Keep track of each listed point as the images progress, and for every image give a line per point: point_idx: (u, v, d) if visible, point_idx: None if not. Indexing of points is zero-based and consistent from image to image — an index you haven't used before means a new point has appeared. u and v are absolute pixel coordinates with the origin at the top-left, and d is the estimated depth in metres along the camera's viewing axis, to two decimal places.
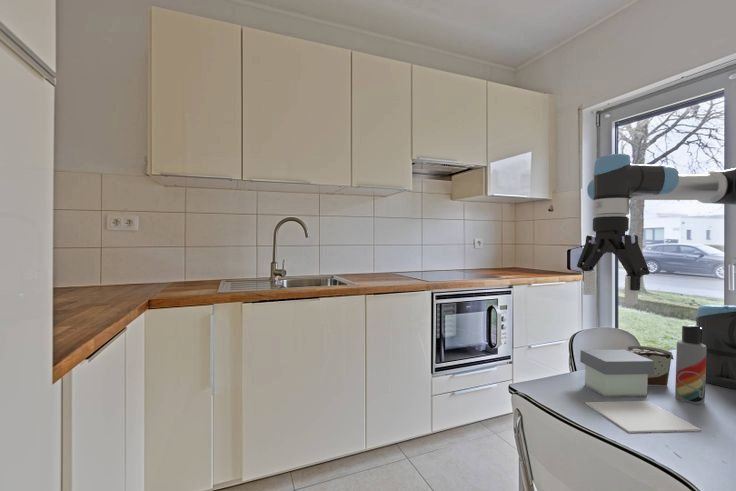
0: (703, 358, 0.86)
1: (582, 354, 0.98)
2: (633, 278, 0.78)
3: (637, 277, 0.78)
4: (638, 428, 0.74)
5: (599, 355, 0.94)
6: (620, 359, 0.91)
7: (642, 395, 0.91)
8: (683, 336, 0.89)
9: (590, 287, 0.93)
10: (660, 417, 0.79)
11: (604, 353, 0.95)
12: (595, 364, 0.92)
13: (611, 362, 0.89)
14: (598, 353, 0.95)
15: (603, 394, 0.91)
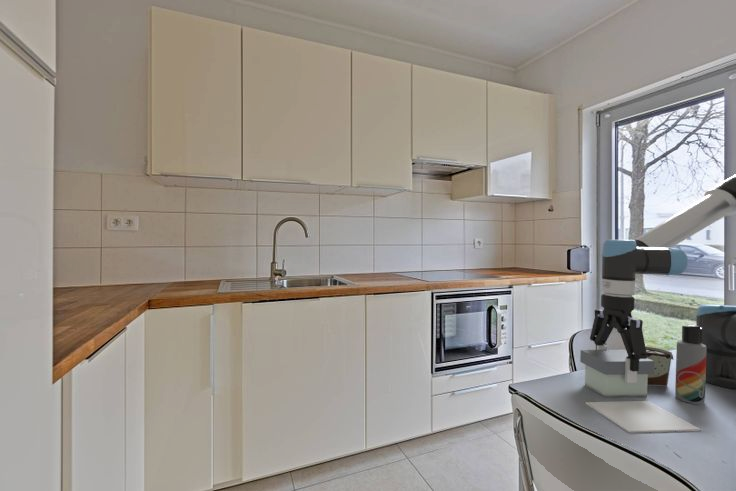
0: (703, 358, 0.86)
1: (582, 354, 0.98)
2: (632, 360, 0.88)
3: (636, 360, 0.87)
4: (638, 428, 0.74)
5: (599, 355, 0.94)
6: (620, 359, 0.91)
7: (642, 395, 0.91)
8: (683, 336, 0.89)
9: None
10: (660, 417, 0.79)
11: (604, 353, 0.95)
12: (595, 364, 0.92)
13: (611, 362, 0.89)
14: (598, 353, 0.95)
15: (603, 394, 0.91)
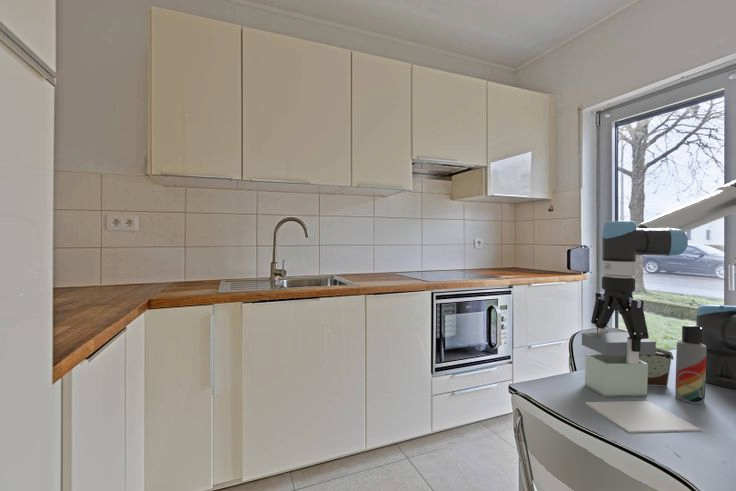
0: (703, 358, 0.86)
1: (583, 336, 0.97)
2: (634, 341, 0.88)
3: (637, 340, 0.87)
4: (638, 428, 0.74)
5: (600, 337, 0.93)
6: (622, 340, 0.90)
7: (642, 395, 0.91)
8: (683, 336, 0.89)
9: None
10: (660, 417, 0.79)
11: (605, 335, 0.95)
12: (597, 346, 0.92)
13: (613, 343, 0.89)
14: (599, 335, 0.95)
15: (603, 394, 0.91)
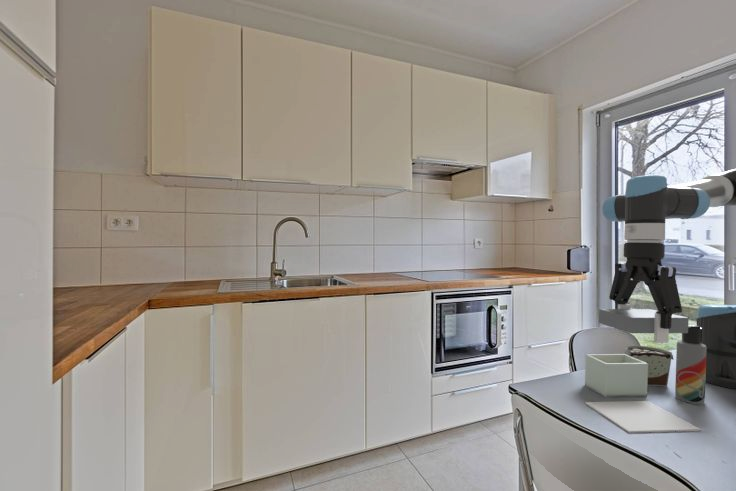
0: (703, 358, 0.86)
1: (601, 313, 0.84)
2: (664, 315, 0.74)
3: (668, 315, 0.73)
4: (638, 428, 0.74)
5: (622, 313, 0.79)
6: (648, 316, 0.77)
7: (642, 395, 0.91)
8: (683, 336, 0.89)
9: None
10: (660, 417, 0.79)
11: (627, 311, 0.81)
12: (618, 323, 0.78)
13: (638, 318, 0.75)
14: (620, 311, 0.81)
15: (603, 394, 0.91)
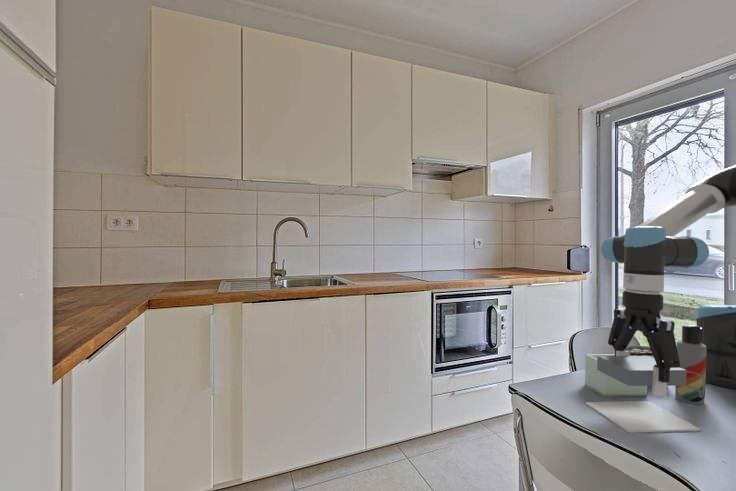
0: (703, 358, 0.86)
1: (599, 360, 0.84)
2: (662, 369, 0.74)
3: (666, 369, 0.73)
4: (638, 428, 0.74)
5: (620, 362, 0.80)
6: (646, 367, 0.77)
7: (642, 395, 0.91)
8: (683, 336, 0.89)
9: None
10: (660, 417, 0.79)
11: (626, 360, 0.81)
12: (616, 373, 0.78)
13: (636, 371, 0.75)
14: (619, 360, 0.81)
15: (603, 394, 0.91)
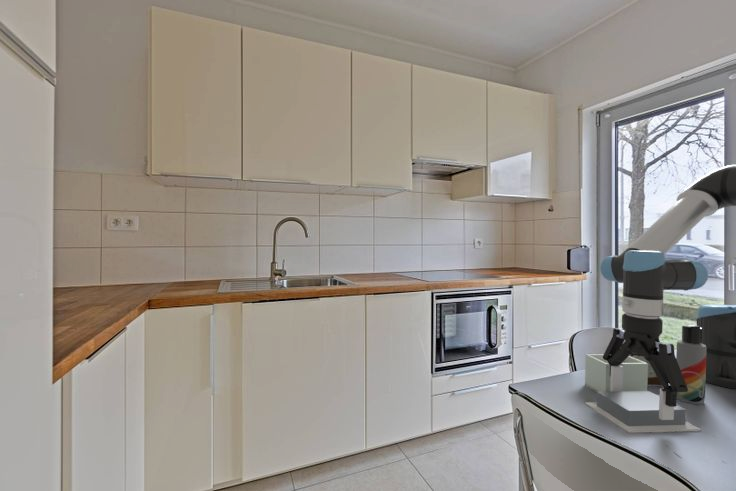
0: (703, 358, 0.86)
1: (598, 396, 0.84)
2: (669, 393, 0.72)
3: (673, 393, 0.72)
4: (638, 428, 0.74)
5: (620, 400, 0.80)
6: (645, 407, 0.77)
7: None
8: (683, 336, 0.89)
9: (618, 384, 0.87)
10: None
11: (625, 397, 0.82)
12: (615, 411, 0.79)
13: (635, 411, 0.75)
14: (618, 397, 0.81)
15: None
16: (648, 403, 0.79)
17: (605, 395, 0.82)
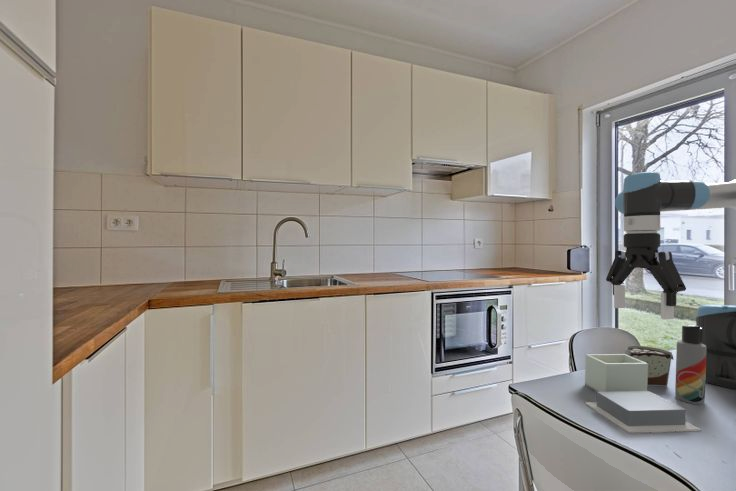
0: (703, 358, 0.86)
1: (598, 396, 0.84)
2: (669, 294, 0.80)
3: (673, 293, 0.80)
4: (638, 428, 0.74)
5: (620, 400, 0.80)
6: (645, 407, 0.77)
7: None
8: (683, 336, 0.89)
9: (621, 300, 0.95)
10: None
11: (625, 397, 0.82)
12: (615, 411, 0.79)
13: (635, 411, 0.75)
14: (618, 397, 0.81)
15: None
16: (648, 403, 0.79)
17: (605, 395, 0.82)
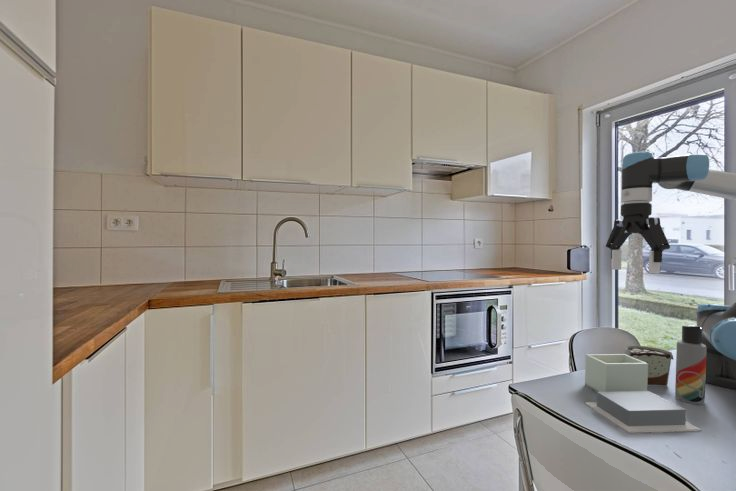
0: (703, 358, 0.86)
1: (598, 396, 0.84)
2: (656, 252, 0.97)
3: (659, 251, 0.96)
4: (638, 428, 0.74)
5: (620, 400, 0.80)
6: (645, 407, 0.77)
7: None
8: (683, 336, 0.89)
9: (617, 263, 1.11)
10: None
11: (625, 397, 0.82)
12: (615, 411, 0.79)
13: (635, 411, 0.75)
14: (618, 397, 0.81)
15: None
16: (648, 403, 0.79)
17: (605, 395, 0.82)
